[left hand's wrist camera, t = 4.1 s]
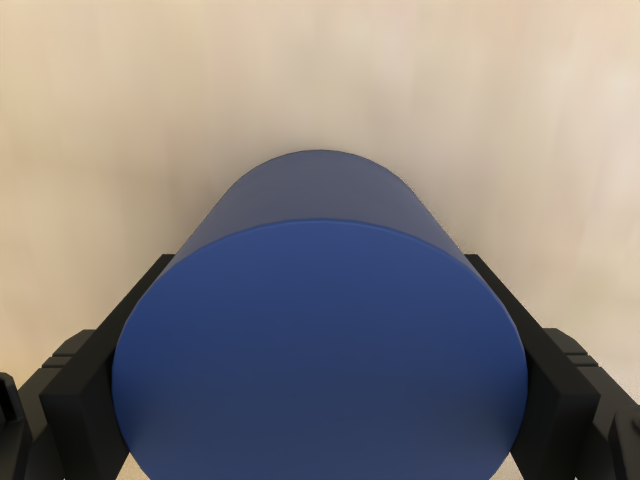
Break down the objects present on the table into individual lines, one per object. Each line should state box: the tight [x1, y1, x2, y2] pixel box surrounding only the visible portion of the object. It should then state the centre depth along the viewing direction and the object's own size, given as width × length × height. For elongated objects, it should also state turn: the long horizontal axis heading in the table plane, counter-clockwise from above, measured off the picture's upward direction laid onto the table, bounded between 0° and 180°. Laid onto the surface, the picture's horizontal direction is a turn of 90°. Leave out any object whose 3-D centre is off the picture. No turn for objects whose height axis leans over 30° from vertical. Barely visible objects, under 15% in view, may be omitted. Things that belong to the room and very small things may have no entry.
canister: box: [111, 150, 528, 480], centre depth 12 cm, size 9×9×8 cm
